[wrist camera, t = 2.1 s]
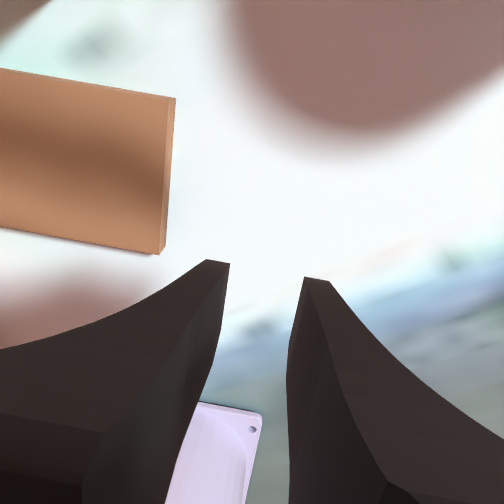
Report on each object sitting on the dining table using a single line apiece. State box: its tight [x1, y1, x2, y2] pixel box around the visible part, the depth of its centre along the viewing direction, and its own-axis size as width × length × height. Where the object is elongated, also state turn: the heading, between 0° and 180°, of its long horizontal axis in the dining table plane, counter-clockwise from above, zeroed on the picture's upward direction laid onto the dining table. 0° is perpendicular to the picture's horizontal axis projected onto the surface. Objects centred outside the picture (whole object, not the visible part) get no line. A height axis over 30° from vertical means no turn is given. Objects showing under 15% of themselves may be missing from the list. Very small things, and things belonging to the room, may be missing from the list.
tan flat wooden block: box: [0, 68, 176, 255], centre depth 19 cm, size 7×9×2 cm
